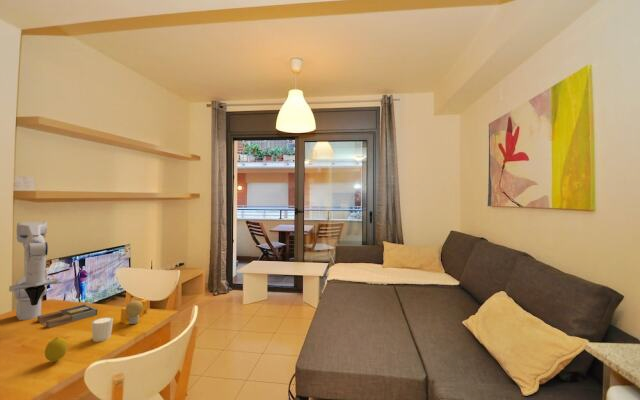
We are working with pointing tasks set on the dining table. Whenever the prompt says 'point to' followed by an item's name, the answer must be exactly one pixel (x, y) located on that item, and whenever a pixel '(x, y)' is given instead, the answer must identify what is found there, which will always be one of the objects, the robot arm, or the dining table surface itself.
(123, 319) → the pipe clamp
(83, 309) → the silvery white square block
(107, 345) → the dining table surface
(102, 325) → the white cup
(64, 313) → the tray
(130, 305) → the light bulb
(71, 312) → the brass chip
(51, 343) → the lemon
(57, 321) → the slot board
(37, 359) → the dining table surface
